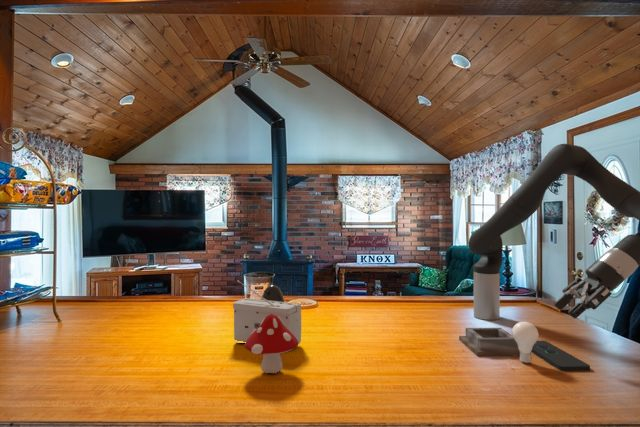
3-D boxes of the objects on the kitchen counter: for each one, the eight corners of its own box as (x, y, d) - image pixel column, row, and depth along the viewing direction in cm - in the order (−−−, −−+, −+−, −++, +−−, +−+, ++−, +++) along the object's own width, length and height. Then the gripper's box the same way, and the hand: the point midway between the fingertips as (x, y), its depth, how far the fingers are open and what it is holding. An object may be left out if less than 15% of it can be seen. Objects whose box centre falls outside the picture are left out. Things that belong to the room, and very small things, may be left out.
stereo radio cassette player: (302, 345, 121) (302, 280, 121) (289, 354, 113) (288, 285, 113) (246, 336, 130) (245, 276, 130) (230, 344, 122) (230, 280, 122)
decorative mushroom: (275, 389, 91) (274, 325, 91) (232, 376, 98) (231, 316, 98) (309, 368, 103) (308, 311, 103) (268, 358, 110) (267, 305, 110)
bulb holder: (459, 339, 125) (459, 326, 125) (502, 339, 125) (502, 326, 125) (477, 356, 111) (477, 341, 111) (526, 355, 111) (526, 340, 111)
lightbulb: (542, 368, 102) (542, 326, 102) (515, 366, 104) (515, 324, 104) (534, 359, 109) (533, 319, 109) (509, 357, 110) (509, 318, 110)
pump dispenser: (252, 330, 136) (251, 287, 136) (267, 322, 145) (267, 281, 145) (278, 334, 132) (278, 289, 132) (292, 325, 142) (291, 283, 141)
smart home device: (545, 339, 121) (592, 365, 101) (545, 345, 121) (592, 372, 101) (518, 340, 121) (560, 366, 101) (518, 346, 121) (560, 372, 101)
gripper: (586, 255, 110) (542, 295, 112) (616, 262, 96) (564, 307, 98) (607, 275, 109) (562, 314, 111) (640, 284, 95) (588, 329, 97)
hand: (563, 311), depth 104 cm, fingers open, 8 cm apart
